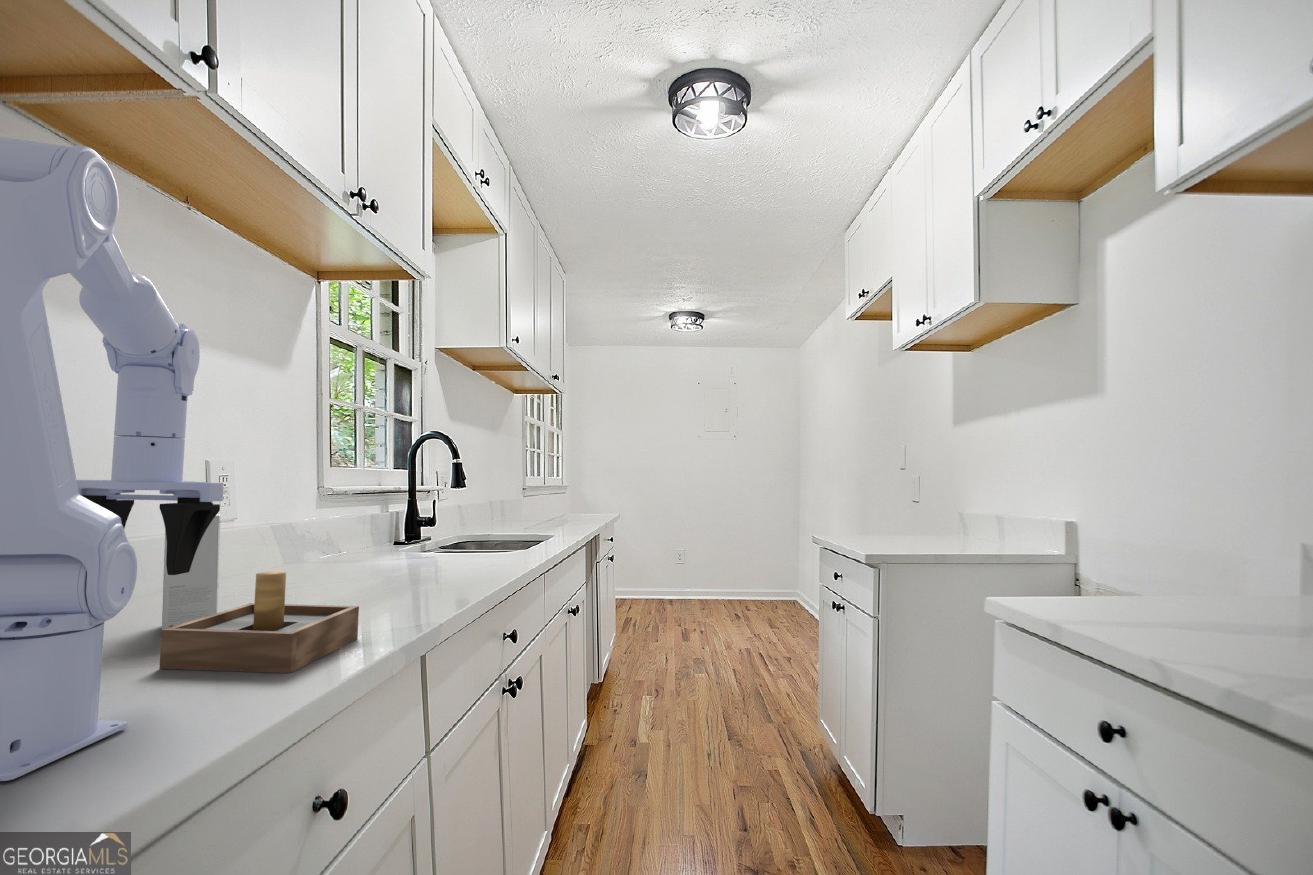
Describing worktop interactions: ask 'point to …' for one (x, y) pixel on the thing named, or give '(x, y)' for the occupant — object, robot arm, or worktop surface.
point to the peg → (269, 601)
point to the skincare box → (194, 582)
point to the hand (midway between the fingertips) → (141, 572)
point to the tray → (258, 639)
